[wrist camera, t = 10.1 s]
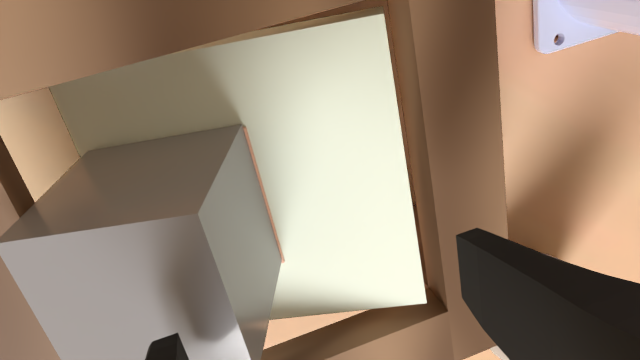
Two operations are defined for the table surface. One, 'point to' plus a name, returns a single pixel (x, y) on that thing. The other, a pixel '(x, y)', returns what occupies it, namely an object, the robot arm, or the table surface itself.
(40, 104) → the table surface
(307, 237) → the trapdoor
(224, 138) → the pale grey cube
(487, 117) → the trapdoor frame
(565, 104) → the table surface
